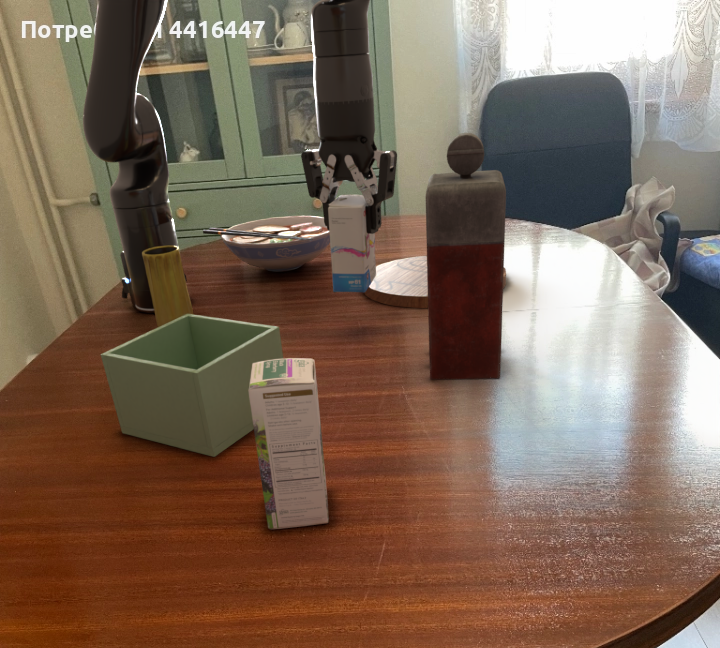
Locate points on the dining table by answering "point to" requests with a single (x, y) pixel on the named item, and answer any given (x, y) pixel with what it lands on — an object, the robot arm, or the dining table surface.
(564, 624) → the dining table surface
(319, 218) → the ramen bowl
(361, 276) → the ink box
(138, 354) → the waste bin
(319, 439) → the syrup box
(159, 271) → the vase
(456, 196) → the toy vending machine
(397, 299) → the trivet
